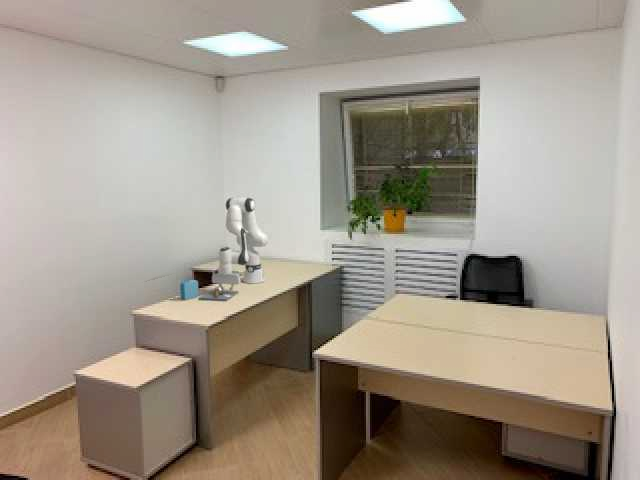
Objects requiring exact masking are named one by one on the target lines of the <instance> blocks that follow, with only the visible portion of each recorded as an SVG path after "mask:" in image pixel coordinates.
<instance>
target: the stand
mask: <svg viewBox="0 0 640 480" xmlns="http://www.w3.org/2000/svg"><path fill="white" fill-rule="evenodd" d="M237 294H239V291H238V290H225V289H224V290H223V294H222V295H219V296H216V295H215V293H214V289H211V290H210V291H208V292H206V293H205V294H202V295H201V296H198V301H209V302H210V301H211V302H212V301H214V302H227V301H229V300H230V299H232V298H233V297H235V296H236V295H237Z"/></svg>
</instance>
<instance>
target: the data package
mask: <svg viewBox="0 0 640 480" xmlns="http://www.w3.org/2000/svg"><path fill="white" fill-rule="evenodd" d="M179 288H180V289H179V290H180V298H181V300H184V301H189V300H193V299H195V298H199V297H200V296H199V281H198V280H195V279H190V280H186V281H182V282H180V284H179Z"/></svg>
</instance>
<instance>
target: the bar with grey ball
mask: <svg viewBox="0 0 640 480" xmlns="http://www.w3.org/2000/svg"><path fill="white" fill-rule="evenodd" d="M222 287H223V286H222ZM222 287H220V286H219V285H218V286H216V287H214V288H213V290H214V293H215V295H216V296H219V295H222V294H223V288H222Z"/></svg>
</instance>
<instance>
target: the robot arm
mask: <svg viewBox="0 0 640 480" xmlns="http://www.w3.org/2000/svg"><path fill="white" fill-rule="evenodd" d="M225 208H226V211H227V212H226V219H225V228H226V230H227V231H228V232H229V233H230V234H231V235H234V236H236V243H237V245H238V246H239V247H240V248H239V249H240V250H232V249H231V248H230V247H227V246H225V247H221V248H220V249H219V252H218V261H219V267H218V268H216V269H214V270H213V271H212V275H211V283H213V284H218V287H219V286H220V287H222V288H223V290H225V287H224V286H223V284H224V285H230V286H231V287H229V291H234V290H233V289H234V285H239V284H241V281H242V283H243V282H244V283H245V284H251V285H252V284H260V283H266V281H267V279H268V277H267V276H265V271H264V269H262V263H261V255H260V252H258V251H257V250H255V248H262V247H266V246H267V244H268V242H269V237H268V235H267V234H266V233H264V232H263V231H262V230H261V228H260V227H259V225H258V223H257V219H256V218H257V217H256V212H255V208H256V202H255V200H254V199H253V198H251V197H232V198H231V197H230V198H228V199H227V200H226V202H225ZM233 265H240V266H245V267H244V269H245V270H243V279H242V280H241V272H240V271H238V270H233Z"/></svg>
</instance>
